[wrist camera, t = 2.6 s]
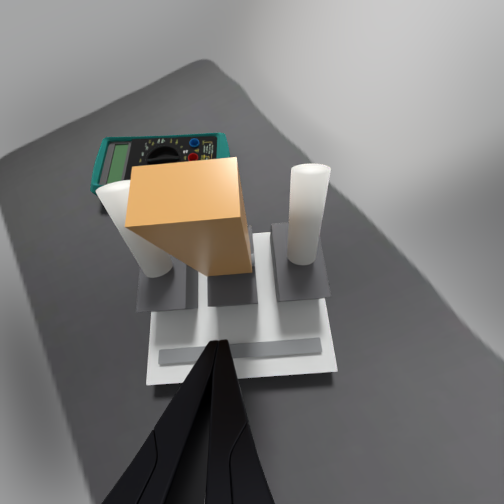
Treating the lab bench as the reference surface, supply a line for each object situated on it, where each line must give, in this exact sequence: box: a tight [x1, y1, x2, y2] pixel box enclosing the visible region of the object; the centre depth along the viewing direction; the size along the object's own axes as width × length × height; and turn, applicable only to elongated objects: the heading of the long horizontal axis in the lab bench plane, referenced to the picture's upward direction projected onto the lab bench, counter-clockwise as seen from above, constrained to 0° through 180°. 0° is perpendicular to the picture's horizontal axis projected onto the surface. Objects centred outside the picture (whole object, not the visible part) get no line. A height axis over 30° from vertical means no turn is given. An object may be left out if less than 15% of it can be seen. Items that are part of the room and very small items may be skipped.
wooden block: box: [125, 157, 255, 276], centre depth 10 cm, size 2×4×9 cm, turn 95°
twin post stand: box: [96, 164, 338, 385], centre depth 13 cm, size 13×15×11 cm
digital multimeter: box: [90, 133, 230, 196], centre depth 22 cm, size 7×15×3 cm, turn 91°
